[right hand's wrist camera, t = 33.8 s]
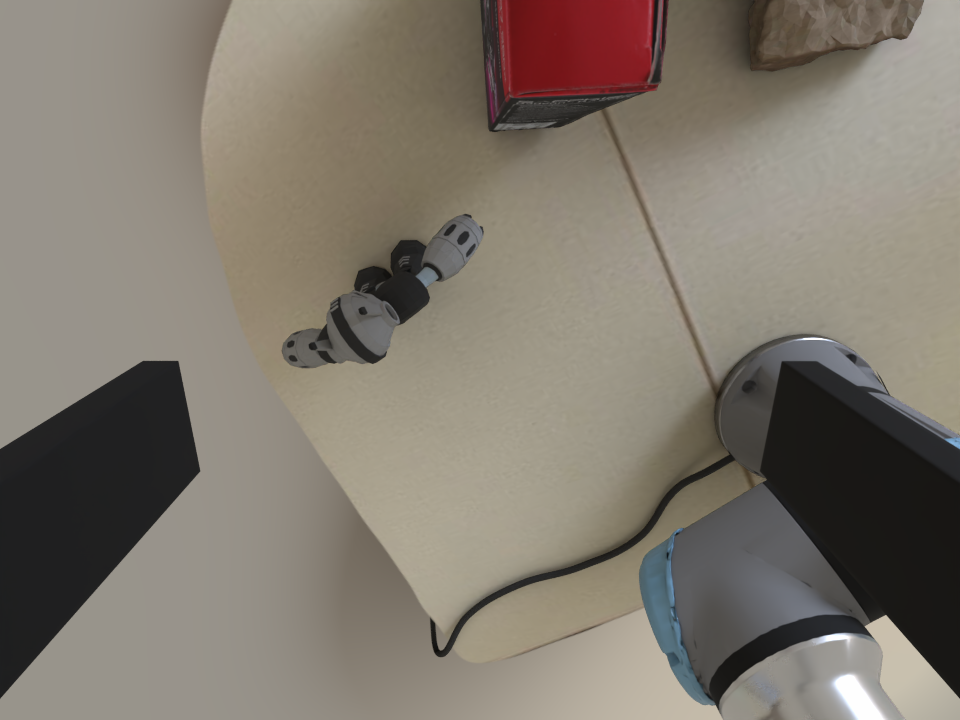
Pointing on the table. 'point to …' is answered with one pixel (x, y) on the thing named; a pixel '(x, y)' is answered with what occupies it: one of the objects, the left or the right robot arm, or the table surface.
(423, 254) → the robot
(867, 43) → the stone
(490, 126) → the graphics card box
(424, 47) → the table surface
